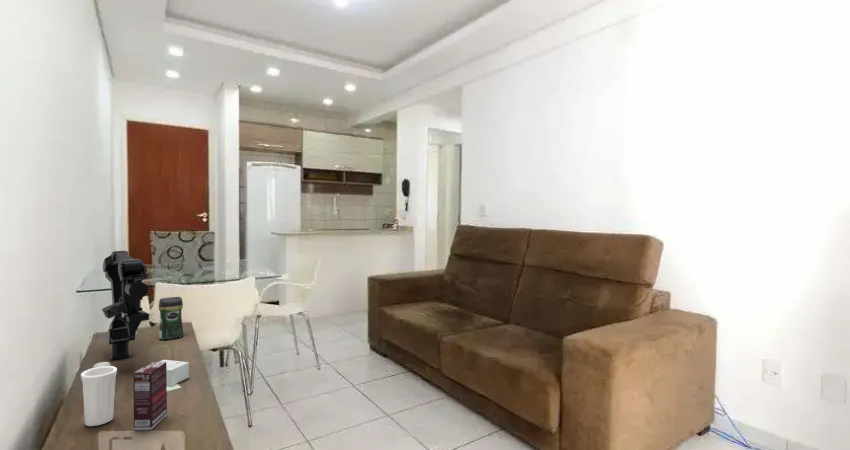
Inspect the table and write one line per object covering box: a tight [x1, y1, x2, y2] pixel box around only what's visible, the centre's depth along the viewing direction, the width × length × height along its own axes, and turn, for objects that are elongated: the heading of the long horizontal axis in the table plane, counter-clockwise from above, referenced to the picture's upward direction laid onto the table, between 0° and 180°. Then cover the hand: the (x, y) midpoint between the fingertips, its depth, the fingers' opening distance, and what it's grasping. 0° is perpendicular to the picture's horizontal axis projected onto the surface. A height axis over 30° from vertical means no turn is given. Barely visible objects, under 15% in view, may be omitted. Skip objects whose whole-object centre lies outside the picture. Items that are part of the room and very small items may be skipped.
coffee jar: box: [158, 296, 184, 341], centre depth 194 cm, size 10×8×19 cm
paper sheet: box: [167, 383, 182, 393], centre depth 141 cm, size 11×10×1 cm
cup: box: [80, 365, 118, 427], centre depth 118 cm, size 8×8×14 cm
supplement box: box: [132, 361, 168, 431], centre depth 118 cm, size 9×5×16 cm, turn 5°
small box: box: [158, 359, 190, 386], centre depth 147 cm, size 8×6×10 cm
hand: (131, 336), depth 157 cm, fingers closed
